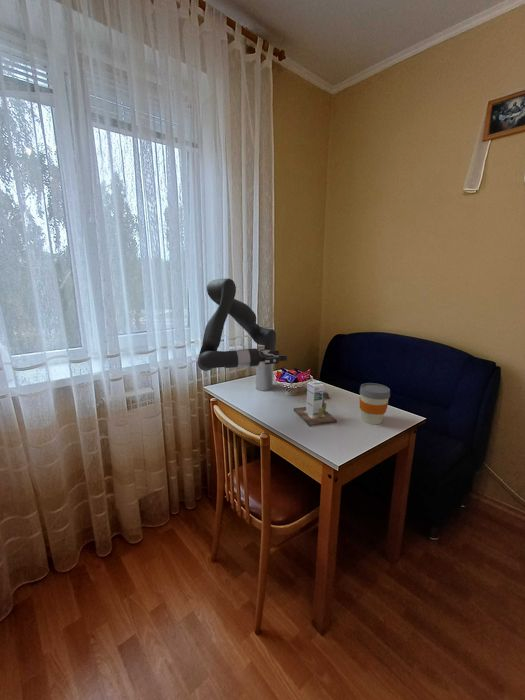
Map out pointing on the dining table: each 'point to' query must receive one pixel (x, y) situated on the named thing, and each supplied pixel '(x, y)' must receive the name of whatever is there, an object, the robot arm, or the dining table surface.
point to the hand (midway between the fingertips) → (282, 355)
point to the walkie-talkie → (325, 395)
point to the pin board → (315, 420)
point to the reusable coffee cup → (373, 402)
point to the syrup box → (315, 398)
